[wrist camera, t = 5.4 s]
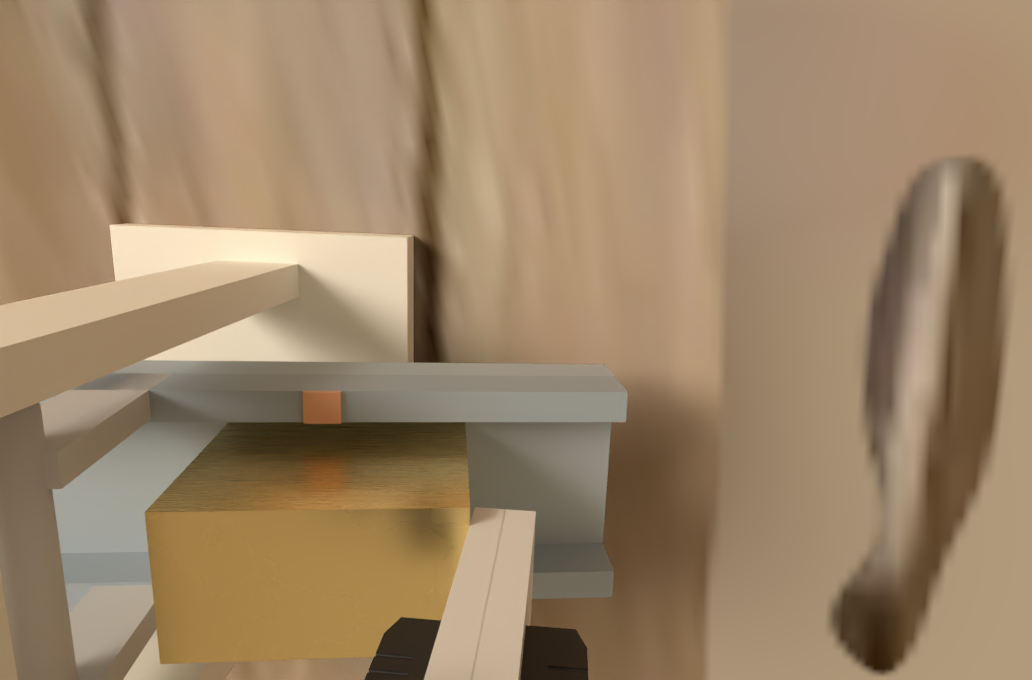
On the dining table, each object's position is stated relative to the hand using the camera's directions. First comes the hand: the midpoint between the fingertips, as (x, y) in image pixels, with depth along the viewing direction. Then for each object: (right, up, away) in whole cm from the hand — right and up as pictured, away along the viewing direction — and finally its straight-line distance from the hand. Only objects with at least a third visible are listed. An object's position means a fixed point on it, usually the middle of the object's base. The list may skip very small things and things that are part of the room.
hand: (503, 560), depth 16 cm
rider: (-5, +1, +4) cm, 6 cm away
